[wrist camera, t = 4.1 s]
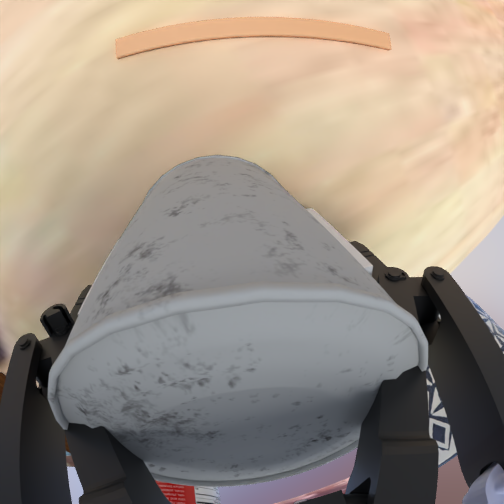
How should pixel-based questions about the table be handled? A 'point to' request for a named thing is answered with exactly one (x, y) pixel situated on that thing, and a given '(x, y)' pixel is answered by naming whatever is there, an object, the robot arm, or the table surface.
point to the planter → (437, 414)
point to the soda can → (189, 494)
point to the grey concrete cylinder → (230, 334)
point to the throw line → (248, 33)
